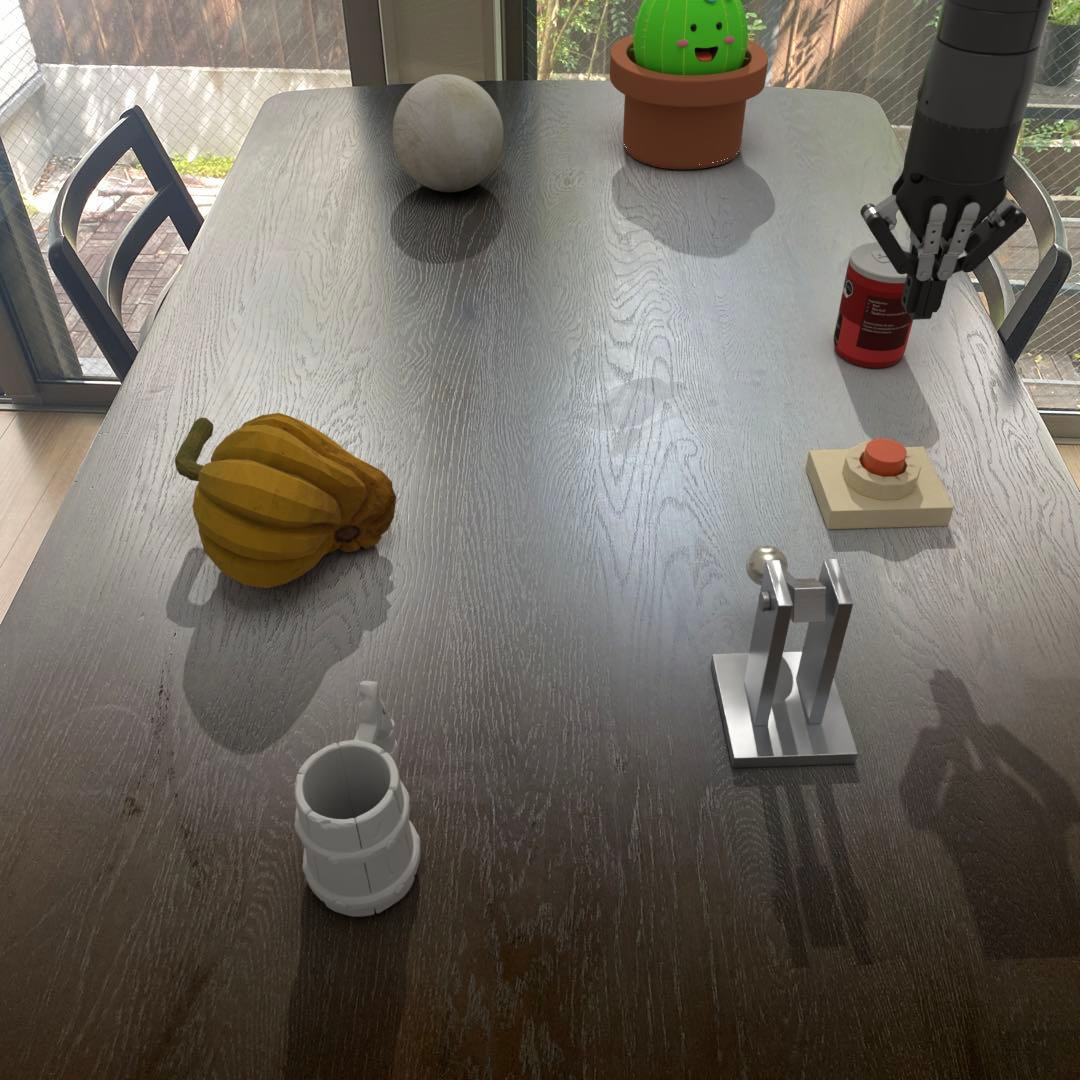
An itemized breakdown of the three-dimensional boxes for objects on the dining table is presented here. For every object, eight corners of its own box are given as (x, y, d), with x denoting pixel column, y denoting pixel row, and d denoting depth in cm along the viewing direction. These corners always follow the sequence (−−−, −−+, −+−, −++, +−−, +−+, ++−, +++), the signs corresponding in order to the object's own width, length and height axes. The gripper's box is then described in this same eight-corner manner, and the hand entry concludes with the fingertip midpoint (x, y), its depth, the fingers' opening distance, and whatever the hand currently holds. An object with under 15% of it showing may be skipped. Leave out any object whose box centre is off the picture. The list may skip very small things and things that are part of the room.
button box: (918, 464, 104) (928, 431, 102) (948, 525, 98) (959, 491, 95) (805, 467, 104) (812, 434, 101) (827, 529, 97) (835, 495, 95)
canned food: (859, 324, 124) (879, 234, 116) (918, 352, 119) (943, 261, 112) (816, 347, 120) (834, 256, 113) (876, 378, 115) (898, 285, 108)
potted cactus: (593, 125, 168) (598, -53, 151) (728, 115, 171) (748, -62, 154) (627, 184, 152) (636, -8, 135) (776, 171, 155) (803, -18, 138)
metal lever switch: (710, 664, 85) (729, 534, 76) (823, 660, 86) (856, 530, 76) (731, 768, 78) (756, 638, 69) (855, 764, 78) (896, 633, 69)
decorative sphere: (467, 219, 144) (461, 106, 134) (376, 196, 150) (364, 85, 140) (524, 178, 154) (523, 69, 144) (437, 157, 159) (429, 51, 149)
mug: (291, 914, 70) (258, 806, 62) (343, 765, 79) (319, 653, 71) (406, 930, 69) (387, 823, 61) (446, 777, 78) (433, 666, 70)
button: (896, 452, 100) (900, 437, 99) (907, 477, 97) (912, 461, 96) (857, 453, 100) (861, 438, 98) (868, 478, 97) (871, 463, 96)
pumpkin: (342, 651, 89) (108, 572, 88) (391, 541, 103) (187, 471, 101) (379, 524, 81) (122, 435, 80) (426, 422, 95) (206, 344, 93)
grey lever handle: (741, 581, 86) (742, 542, 86) (781, 580, 87) (782, 541, 86) (786, 629, 73) (786, 582, 72) (833, 627, 73) (834, 581, 72)
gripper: (895, 126, 76) (850, 341, 87) (1082, 121, 76) (1012, 336, 87) (866, 88, 81) (828, 295, 93) (1040, 83, 81) (980, 290, 93)
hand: (918, 314), depth 90 cm, fingers closed
